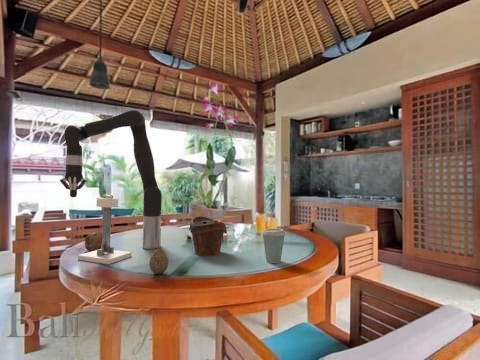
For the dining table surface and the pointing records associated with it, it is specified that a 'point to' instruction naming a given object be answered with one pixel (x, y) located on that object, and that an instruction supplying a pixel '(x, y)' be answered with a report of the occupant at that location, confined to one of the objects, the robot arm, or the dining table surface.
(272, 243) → the disposable coffee cup
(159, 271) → the decorative egg
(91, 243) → the brown textured slab
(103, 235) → the post
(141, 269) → the dining table surface
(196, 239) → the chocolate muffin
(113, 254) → the base plate
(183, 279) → the dining table surface
